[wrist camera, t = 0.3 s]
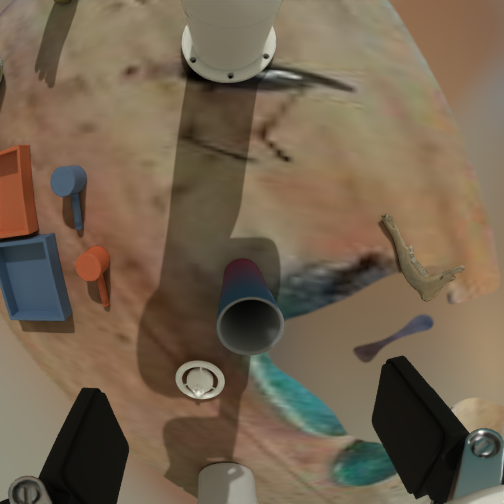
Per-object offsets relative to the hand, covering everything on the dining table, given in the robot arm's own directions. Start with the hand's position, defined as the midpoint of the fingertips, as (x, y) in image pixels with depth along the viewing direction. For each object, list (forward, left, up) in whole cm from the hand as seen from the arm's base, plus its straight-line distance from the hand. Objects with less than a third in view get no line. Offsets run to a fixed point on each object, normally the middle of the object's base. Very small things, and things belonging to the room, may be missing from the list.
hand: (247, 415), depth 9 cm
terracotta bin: (-8, -36, -35) cm, 51 cm away
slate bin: (+6, -33, -35) cm, 49 cm away
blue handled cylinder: (-5, -22, -35) cm, 42 cm away
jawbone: (+6, +31, -36) cm, 48 cm away
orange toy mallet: (+7, -20, -35) cm, 41 cm away
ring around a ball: (+25, -7, -36) cm, 44 cm away
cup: (+8, +1, -36) cm, 36 cm away
